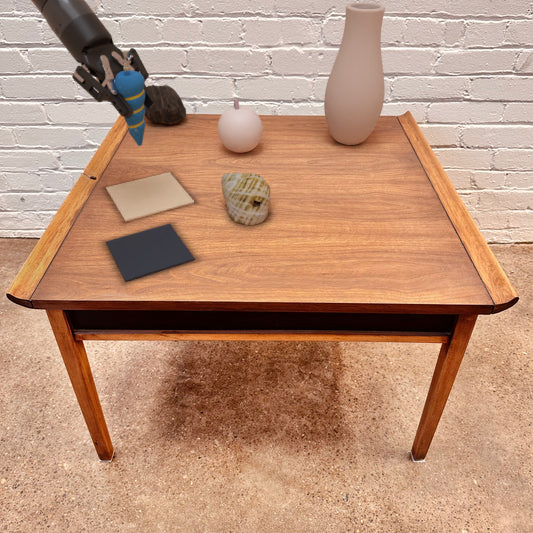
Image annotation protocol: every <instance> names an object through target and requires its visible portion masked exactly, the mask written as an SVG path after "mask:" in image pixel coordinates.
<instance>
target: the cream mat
mask: <svg viewBox="0 0 533 533" xmlns="http://www.w3.org/2000/svg"><path fill="white" fill-rule="evenodd" d="M105 189H106V191H107V193H108V195H109V196H110V199H111V200H112V201H113V203H114V205H115V207H116V208H117V210H118V212H119V213H120V215H121V216H122V219H123V220H124V221H125V222H126V223H127V222H131V221H134V220H137V219H142V218H145V217H149V216H152V215H156V214H159V213H164V212H168V211H171V210H175V209H178V208H182V207H186V206H189V205H193V204H195V201H194V199H193V198H192V197H191V196H190V195H189V193H188V192H187V191H186V190H185V188H184V187H183V186H182V185H181V184H180V183H179V181H178V180H177V179H176V178H175V176H173V174H172V173H171V172H170V171H167V172H164V173H160V174H159V173H158V174H156V175H151V176H148V177H147V176H146V177H143V178H139V179H135V180H131V181H127V182H123V183H118V184H114V185H109V186H106V187H105Z"/></svg>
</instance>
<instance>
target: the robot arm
mask: <svg viewBox="0 0 533 533" xmlns="http://www.w3.org/2000/svg"><path fill="white" fill-rule="evenodd" d="M30 1H31V3H32V4H33V5H34V6H35V8H36V9H37V11H39V13H40V14H41V16H42V17H43V18H44V19H45V22H46V23H47V25H48V26H49V29H51V31H52V33H53V34H54V35H55V36H56V37H57V38H58V40H59V41H60V42H61V44H62V45H63V46H64V47H65V49H66V50H67V51H68V53H69V54H70V55H71V57H72V58H73V59H74V60H75V62H76V63H78V64H80V65H77V66H76V68H75V70H74V71H73V73H72V75H71V78H72V79H73V80H74V81H75V82H76V83H77V84H78V85H79V86H80V87H81V88H82V89H83V90H85V92H86V93H88V94H89V95H90V96H91V97H92V98H93V99H94V100H95V101H97V102H98V103H102V102H108V103H110V104H111V105H112V106H113V107H114V108H115V111H117V112H118V114H119V115H120V116H121V117H123V118H124V119H125V118H126V119H128V118H130V117H131V116H132V114H133V113H134V112H133V109H132V108H131V107H130V105H129V104H128V103H127V102H126V100H125V99H124V98H123V96H122V95H121V94H118V90H117V88H116V85H115V78H116V75H117V74H118V73H119V72H122V71H124V69H123V67H126V64H127V67H129V70H132V71H137V72H139V73H140V74H142V76H143V77H144V80H145V82H146V81H147V79H149V77H150V74H149V73H148V70H147V69H146V67H145V65H144V63H143V61H142V59H141V58H140V55H139V53H138V51H137V49H135V48H133V47H131V48H130V49H129V50H127V51H122V50H121V49H120V48H119V47H118V46H116V45H115V43H114V40H113V36H112V34H111V32H109V30H108V29H107V27H106V26H105V25H104V23H103V22H102V20H100V18H99V17H98V16H97V14H96V13H95V12H94V10H93V9H92V8H91V6H90V5H89V3H88V2H87V1H86V0H30ZM125 63H126V64H125ZM144 91H145V101H144V105H145V106H146V107H147V108H148V109H149V108H151V107H152V106H153V105H154V104H155V98H154V96H153V95H152V93H151V92H150V91H149V89H148V88H147V85H146V84H145V85H144Z"/></svg>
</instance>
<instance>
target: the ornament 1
mask: <svg viewBox="0 0 533 533" xmlns="http://www.w3.org/2000/svg"><path fill="white" fill-rule="evenodd" d="M125 64H126V63H125ZM123 69H124V71H122V72H119V73H118V74H117V75H116V78H115V81H114V83H115V85H116V88H117V90H118V94H121V95H122V96H123V98H124V99H125V100H126V102H127V103H128V104H129V105H130V107H131V108H132V109H133V112H134V113H133V114H132V116H131V117H130V118H128V119H126V118H124V121H125V123H126V125H127V126H128V133H129V136H131V138H132V139H133V140H134V142H135V143H136V145H137V146H138V147H141V146H142V145H143V140H144V135H145V131H146V121H145V106H144V101H145V91H144V85H146V81H145V80H144V77H143V76H142V74H141V73H139V72H140V71H139V72H137V71H132V70H129V67H127V64H126V67H123Z"/></svg>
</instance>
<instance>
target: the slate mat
mask: <svg viewBox="0 0 533 533" xmlns="http://www.w3.org/2000/svg"><path fill="white" fill-rule="evenodd" d="M105 244H106V246H107V248H108V250H109V252H110V255H111V257H112V258H113V260H114V262H115V264H116V266H117V268H118V270H119V272H120V274H121V276H122V278H123V279H124V282H125V283H128V282H130V281H134V280H136V279H140V278H143V277H146V276H149V275H152V274H155V273H158V272H162V271H165V270H168V269H171V268H174V267H178V266H180V265H183V264H187V263H190V262H193V261H195V260H196V259H195V258H196V257H195V256H194V255H193V254H192V253H191V251H190V250H189V249H188V247H187V245H186V244H185V242H184V240H182V238H181V236H180V235H179V234H178V233H177V231H176V230H175V229H174V227H173V226H172V224H171V223H165V224H162V225H158V226H156V227H153V228H149V229H146V230H142V231H138V232H135V233H131V234H128V235H124V236H120V237H117V238H114V239H110V240H107V241H105Z"/></svg>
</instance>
